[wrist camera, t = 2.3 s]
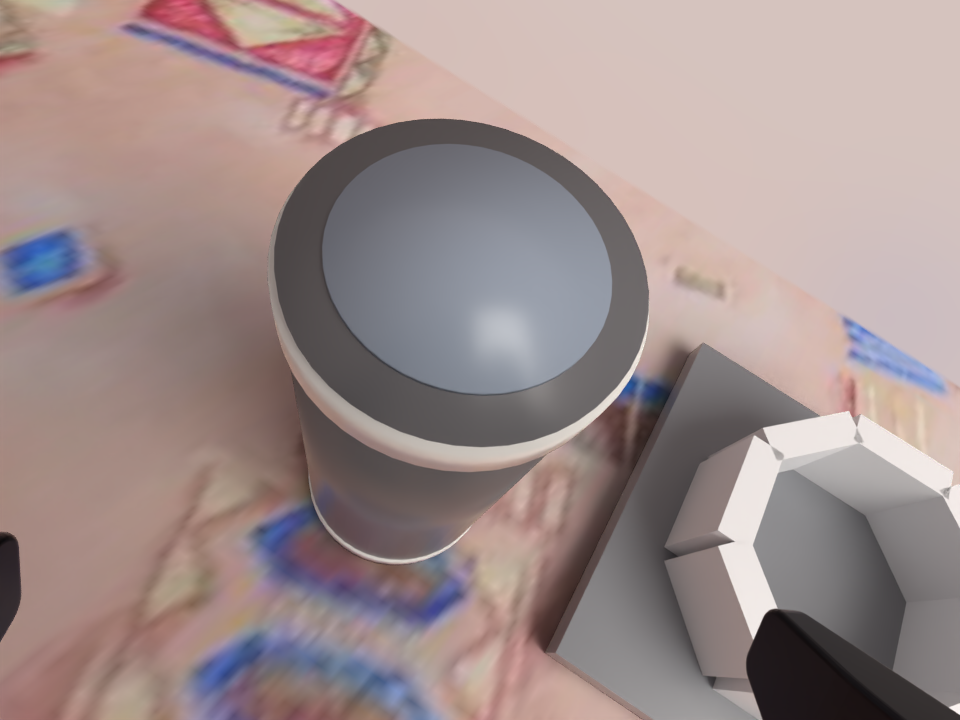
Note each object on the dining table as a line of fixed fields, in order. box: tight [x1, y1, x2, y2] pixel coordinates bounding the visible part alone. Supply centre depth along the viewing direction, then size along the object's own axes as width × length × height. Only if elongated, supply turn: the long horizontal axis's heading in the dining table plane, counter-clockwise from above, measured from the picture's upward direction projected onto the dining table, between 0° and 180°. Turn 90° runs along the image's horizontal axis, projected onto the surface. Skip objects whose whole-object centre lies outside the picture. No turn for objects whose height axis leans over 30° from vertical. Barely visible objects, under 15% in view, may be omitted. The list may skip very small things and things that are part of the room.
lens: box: [267, 119, 649, 565], centre depth 14 cm, size 5×5×12 cm
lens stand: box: [545, 343, 960, 720], centre depth 18 cm, size 12×12×4 cm
